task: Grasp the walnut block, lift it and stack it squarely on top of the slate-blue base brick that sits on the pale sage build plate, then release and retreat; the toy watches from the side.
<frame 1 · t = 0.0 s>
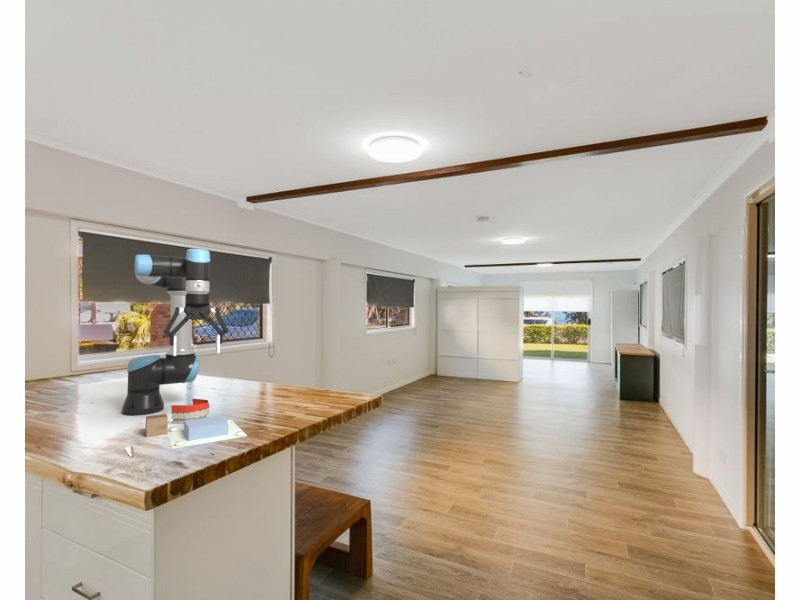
hand: (196, 354, 141), 28 cm above the table, fingers open, 13 cm apart
instruction page: (140, 449, 125), on the table
build plate: (205, 436, 139), on the table
walnut block: (156, 437, 138), on the table
base brick: (205, 433, 139), point 1 cm above the table, touching build plate
toy: (193, 424, 155), on the table
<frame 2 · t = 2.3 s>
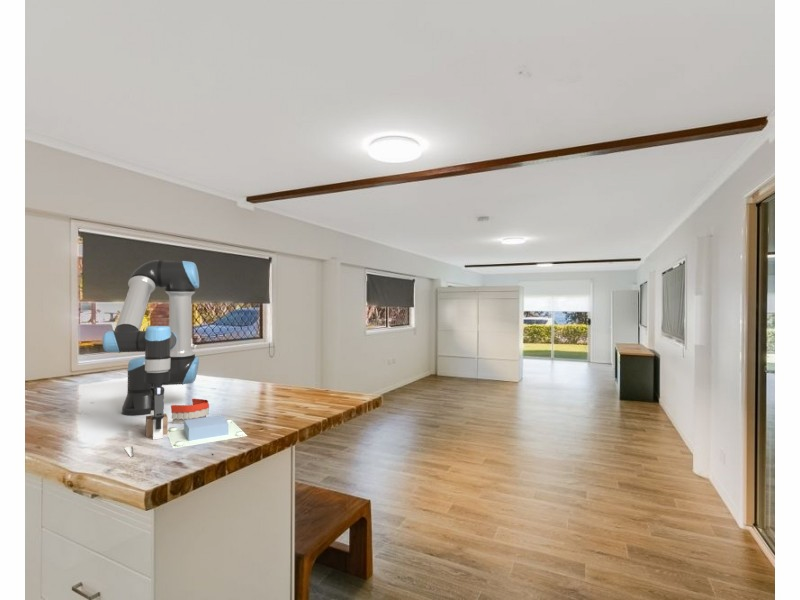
hand: (156, 433, 138), 1 cm above the table, fingers open, 13 cm apart
nothing on the table moved.
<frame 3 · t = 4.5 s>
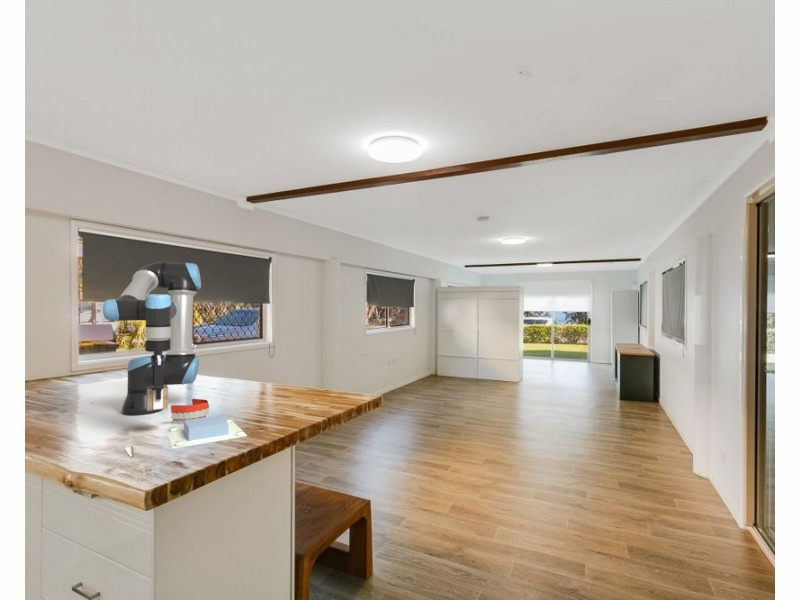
hand: (157, 406, 139), 10 cm above the table, fingers closed on walnut block, 6 cm apart
walnut block: (156, 407, 139), point 10 cm above the table, touching gripper
everything else where it was.
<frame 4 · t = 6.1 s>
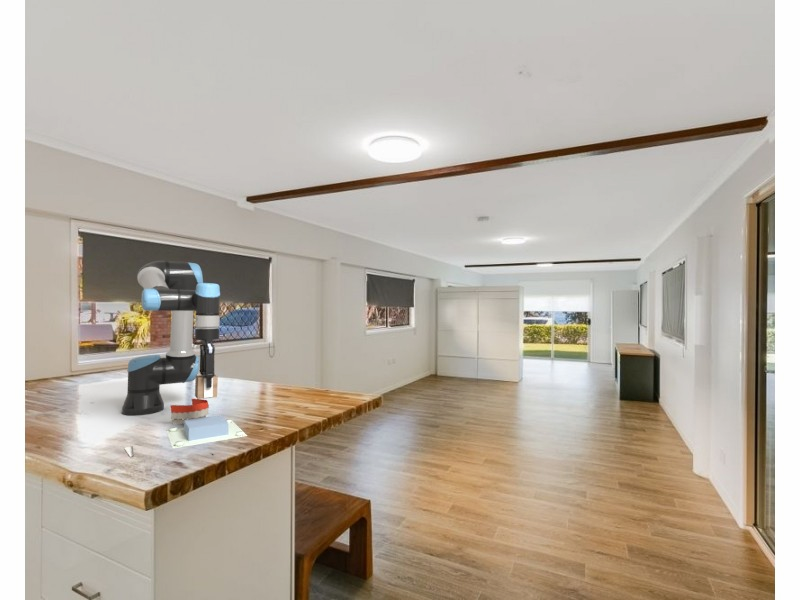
hand: (206, 395, 139), 14 cm above the table, fingers closed on walnut block, 6 cm apart
walnut block: (205, 396, 139), point 14 cm above the table, touching gripper
everything else where it was.
when the fingers open (6 cm above the table, at t = 8.2 s): walnut block stays where it is, resting on base brick.
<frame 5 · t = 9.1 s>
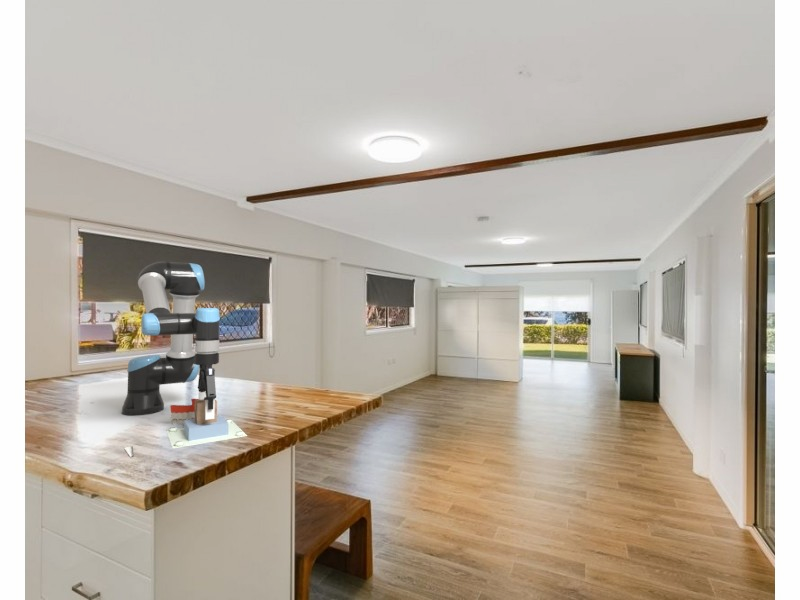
hand: (206, 414, 139), 8 cm above the table, fingers open, 13 cm apart
walnut block: (205, 421, 139), point 5 cm above the table, touching base brick
base brick: (205, 433, 139), point 1 cm above the table, touching build plate, walnut block
everything else where it was.
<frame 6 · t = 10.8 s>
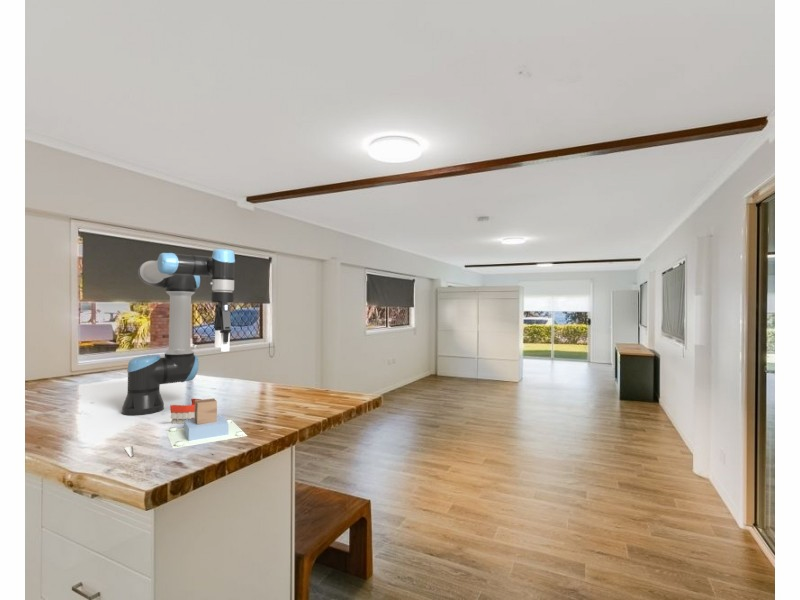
hand: (221, 349, 149), 29 cm above the table, fingers open, 13 cm apart
nothing on the table moved.
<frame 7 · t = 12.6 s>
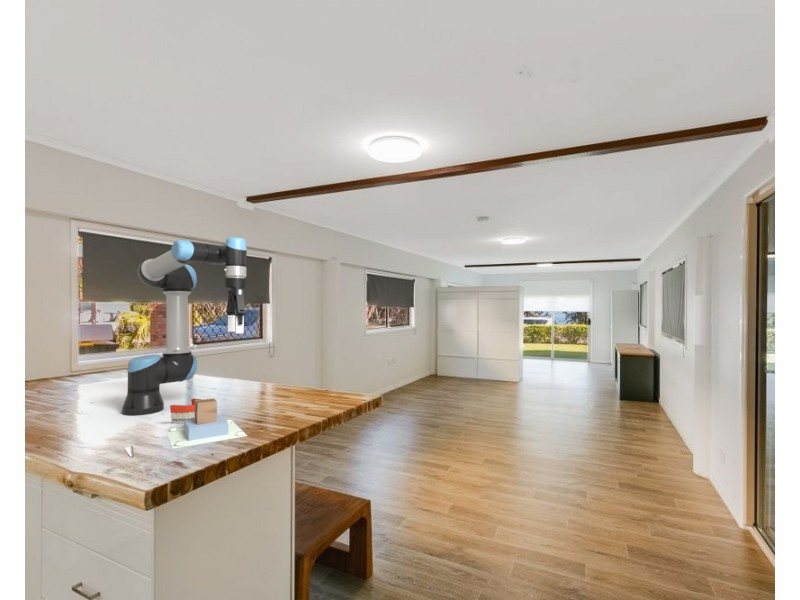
hand: (235, 332, 157), 35 cm above the table, fingers open, 13 cm apart
nothing on the table moved.
at the end: walnut block inside the target area on the base brick (0.2 cm from its centre), point 4.0 cm above the base brick's base; walnut block touching base brick; the gripper is holding nothing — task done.
